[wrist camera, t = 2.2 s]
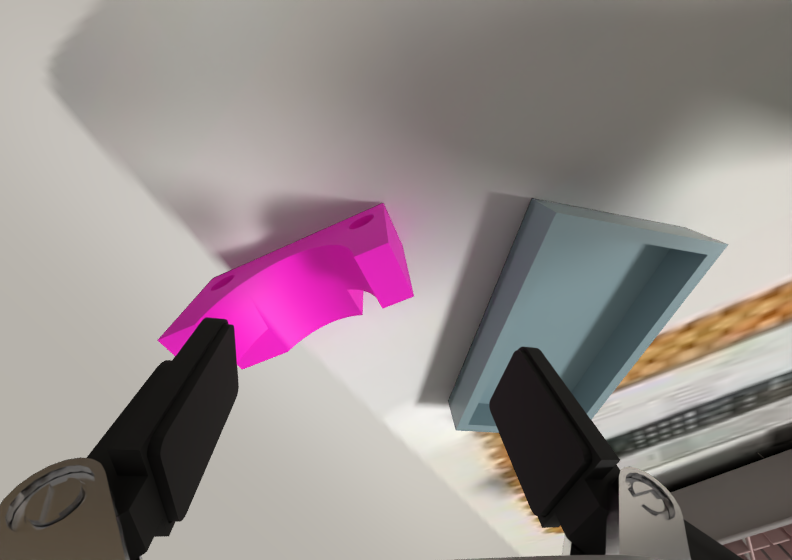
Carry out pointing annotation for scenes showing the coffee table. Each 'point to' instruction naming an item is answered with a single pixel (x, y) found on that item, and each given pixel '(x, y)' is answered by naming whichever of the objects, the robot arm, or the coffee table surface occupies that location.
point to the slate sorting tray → (580, 302)
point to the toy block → (301, 287)
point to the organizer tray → (745, 508)
